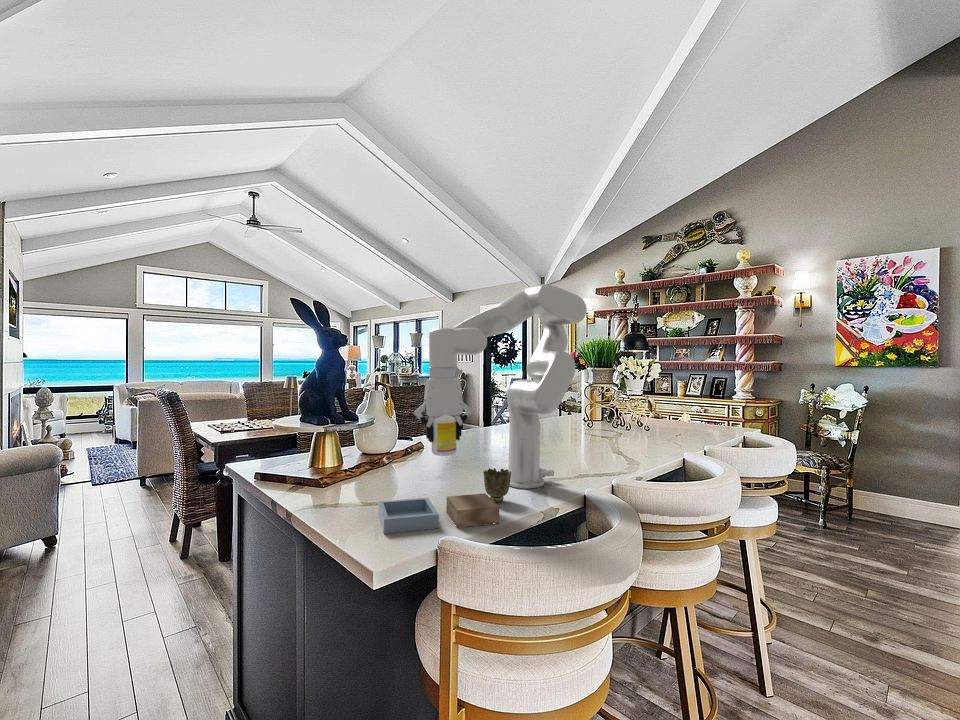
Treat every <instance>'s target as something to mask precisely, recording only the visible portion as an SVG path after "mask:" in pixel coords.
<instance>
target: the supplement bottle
mask: <svg viewBox="0 0 960 720" xmlns="http://www.w3.org/2000/svg"><path fill="white" fill-rule="evenodd" d="M447 411H448V410H447V409H445V410H444V411H443V412H444V413H447ZM431 425H432V427H433V442H431V453H432V454H433V455H435V456H440V457H448V456H453V455H455V454H456V453H457V440H456V418H455V416H449V415H447V414H445V415H443V416H439V417H435V418H434V420H433V422H432V424H431Z"/></svg>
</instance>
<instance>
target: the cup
mask: <svg viewBox="0 0 960 720" xmlns="http://www.w3.org/2000/svg"><path fill="white" fill-rule="evenodd" d="M510 479H511V471H510V472H509V471H508V468H507V469H504V468H501V469H500V471H499V470H497V468H493V469H492V468H488V469H487V470H486V469H485V470H483V480H484V481H483V482H484V488H485V492H486V494H487V495H489V497H490V498H491V499H492V500H493V501H494V502H495V503H496V504H500V503H502V502H503V501H504V497H505V496H506V495H507V494H508V493H509V490H510V487H511V486H510ZM499 502H500V503H499Z"/></svg>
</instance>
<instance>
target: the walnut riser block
mask: <svg viewBox="0 0 960 720" xmlns="http://www.w3.org/2000/svg"><path fill="white" fill-rule="evenodd" d="M445 505H446V507H445V508H446V509H445V511H446V514H448V515H449V516H448V515H447V516H448V517H449V519H450V518H451V519H450V520H451V522H452V521H453V522H454V523H453V522H452V523H453V524H455V525H456V526H455V525H454V526H455V527H456V528H457V527H464V528H467V527H466V526H474V527H477V526H476V525H484V526H486V525H485V524H493V523H499V524H500V506H499V505H498V503H495V502H494V501H493V500H492V499H491V498H490V495H489V496H488V494H487V493H475V494H462V495H461V494H460V495H450V496H448V495H447V496H446V504H445ZM493 525H494V524H493Z"/></svg>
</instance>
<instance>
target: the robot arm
mask: <svg viewBox="0 0 960 720" xmlns="http://www.w3.org/2000/svg"><path fill="white" fill-rule="evenodd" d="M587 311H588V309H587V305H586V301H585V300H584V299H583V298H582V297H581V296H579V295H578V294H575V293H572V292H570V291H568V290H566V289H564V288H561V287H558V286H556V285H552V284H548V283H547V284H546V283H543V284H537V285H532V286H526V287H524V288H522V289H520V290H518V291H517V292H515V293H514V294H512V295H511V296H509V297H508V298H506V299H504V300H502V301H501V302H500V303H498V304H496V305H494V306H492V307H490V308H487V309H485V310H483V311H481V312H480V313H477V314H475V315H473V316H470V317H469V318H467V319H465V320H464V321H462V322H460V323H458V324H457V325H455V326H454V327H436V328H432V329H430V331H429V333H428V334H429V335H428V338H429V339H428V343H429V344H428V350H429V351H428V355H429V356H428V360H429V361H428V363H429V366H428V367H429V371H428V372H429V374H428V375H429V378H428V379H427V378H426V380H425V387H424V394H423V396H424V397H423V403H422V404H421V405H420V406H419V407H418V408H417V409H416V410H414V412H413V415H415V416H416V418H417V419H418V420H419V421H420V422H421V423H422V424H423V425H425V437H426V439H428V441H429V442H430V443H432V442H433V427H432V425H431V424H432V422H433V420H434V418H435V417H439V416H443V415H445V414H447V415H449V416H455V418H456V441H460V440H461V439H460V437H462V426H463V424H464V422H465V421H466V420H467V419H468V418H469V416H470V415H471V414H472V413H473V409H472V408H471V407H470V406H468V405H467V404H466V403H465V402H464V398H463V391H462V383H461V379H460V378H458V377H459V375H463V373H464V371H463V369H460V368H459V367H458V355H459V356H460V355H461V356H462V355H463V356H464V355H465V356H474V355H475V356H476V355H479V354H480V353H482V352H483V351H484V350H485V349H486V348H487V345H488V339H487V338H488V337H489V338H490V337H493V336H496V335H501V334H504V333H507V332H510V331H512V330H513V329H515V328H516V327H518V326H519V325H521V324H522V323H524V322H526V321H527V320H528V319H530V318H531V317H533V316H534V315H538V317H539V320H540V323H541V328H542V334H541V338H540V340H539V342H538V344H537V345H536V348H535V350H534V351H533V353H532V355H531V356H530V358H529V360H528V362H527V364H526V373H527V375H528V377H529V378H530V379H518V380H515V381H513V382H512V383H511V384H510V385H509V387H508V388H507V392H506V402H507V406H508V417H509V430H508V467H507V469H508V471H509V472H510V471H511V479H510V486H509V487H512V488H517V489H518V488H519V489H536V488H540V487H543V486H544V485H545V477H554V476H555V471H554V469H546V468H541V466H540V465H541V433H542V432H541V431H542V429H541V428H542V427H541V419H540V417H539V414H540V415H549V414H553V412H555V411H556V410H557V409H558V408H559V406H560V404H561V403H562V401H563V399H564V397H565V395H566V393H567V390H568V389H569V387H570V385H571V383H572V381H573V379H574V377H575V373H576V362H575V360H574V357H573V356H572V355H571V354H570V353H568V352H565V351H566V349H567V347H568V343H569V342H568V340H569V339H568V335H567V333H566V329H565V326H564V325H573V324H574V325H575V324H579V323H581V322H582V321H583V320H584V319H585V318H586V315H587ZM445 409H447V410H448V411H447V413H444V412H443V411H444V410H445ZM422 413H424V415H427V416H426V418H425V417H424V416H423V414H422Z"/></svg>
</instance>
